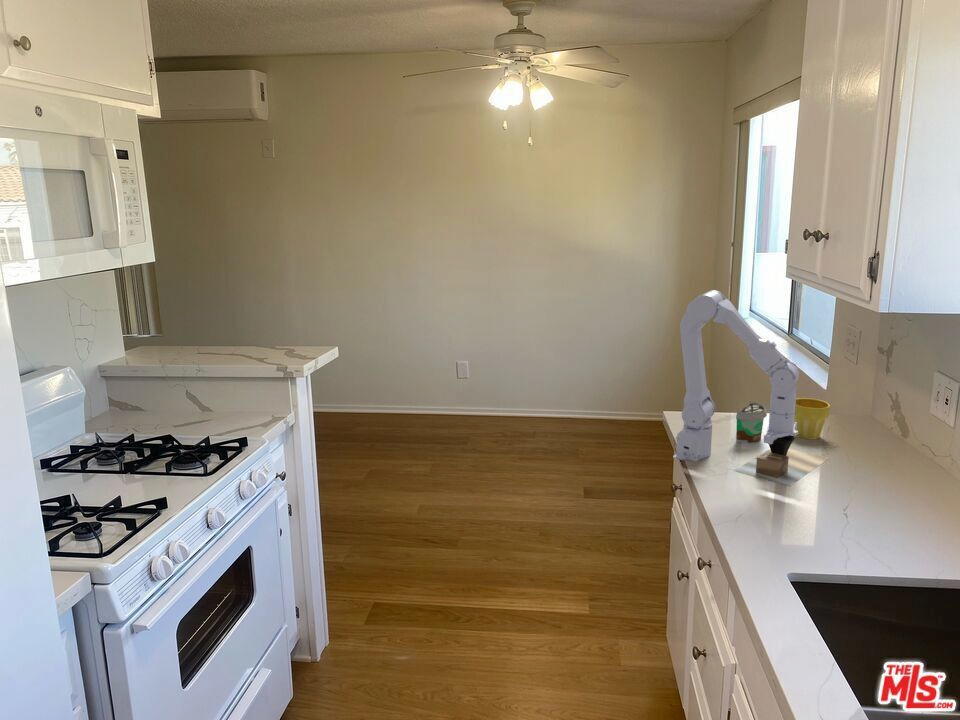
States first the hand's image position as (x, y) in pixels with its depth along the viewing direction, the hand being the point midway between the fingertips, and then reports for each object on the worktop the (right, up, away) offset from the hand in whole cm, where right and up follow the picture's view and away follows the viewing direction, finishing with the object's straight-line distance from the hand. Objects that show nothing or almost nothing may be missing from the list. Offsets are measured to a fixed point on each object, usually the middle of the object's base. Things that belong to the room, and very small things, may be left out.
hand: (778, 463), depth 181 cm
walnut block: (-3, -2, -3) cm, 4 cm away
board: (+2, -1, +2) cm, 3 cm away
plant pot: (+18, +4, +25) cm, 31 cm away
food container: (+1, +3, +21) cm, 21 cm away
